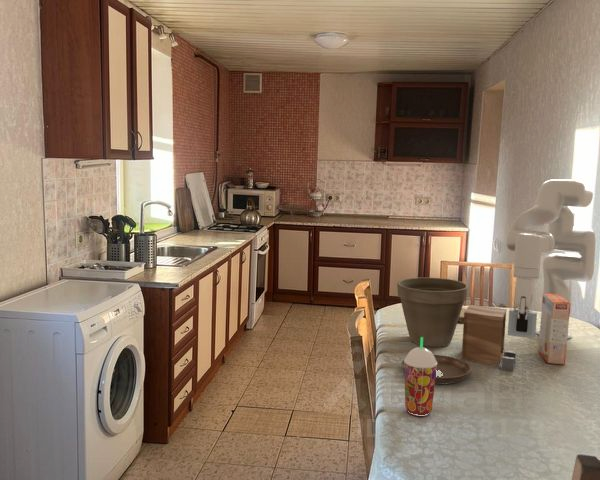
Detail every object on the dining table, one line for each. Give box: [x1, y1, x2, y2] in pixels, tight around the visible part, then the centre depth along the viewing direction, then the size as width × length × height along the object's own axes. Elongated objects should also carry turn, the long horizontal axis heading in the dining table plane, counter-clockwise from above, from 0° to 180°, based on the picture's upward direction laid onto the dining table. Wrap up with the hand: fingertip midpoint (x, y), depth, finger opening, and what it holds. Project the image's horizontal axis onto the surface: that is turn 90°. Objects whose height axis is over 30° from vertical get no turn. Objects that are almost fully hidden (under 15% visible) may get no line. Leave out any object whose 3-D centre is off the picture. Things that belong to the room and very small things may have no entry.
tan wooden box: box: [461, 304, 507, 366], centre depth 189 cm, size 12×12×16 cm
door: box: [507, 308, 538, 340], centre depth 178 cm, size 3×8×8 cm, turn 65°
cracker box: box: [537, 293, 571, 365], centre depth 189 cm, size 14×6×21 cm, turn 168°
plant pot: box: [396, 277, 469, 348], centre depth 205 cm, size 25×25×22 cm
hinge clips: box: [498, 350, 517, 372], centre depth 181 cm, size 8×4×4 cm, turn 155°
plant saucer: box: [400, 354, 471, 385], centre depth 173 cm, size 21×21×3 cm
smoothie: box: [403, 337, 438, 415], centre depth 144 cm, size 8×8×20 cm
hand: (522, 329), depth 178 cm, fingers closed on door, 3 cm apart
